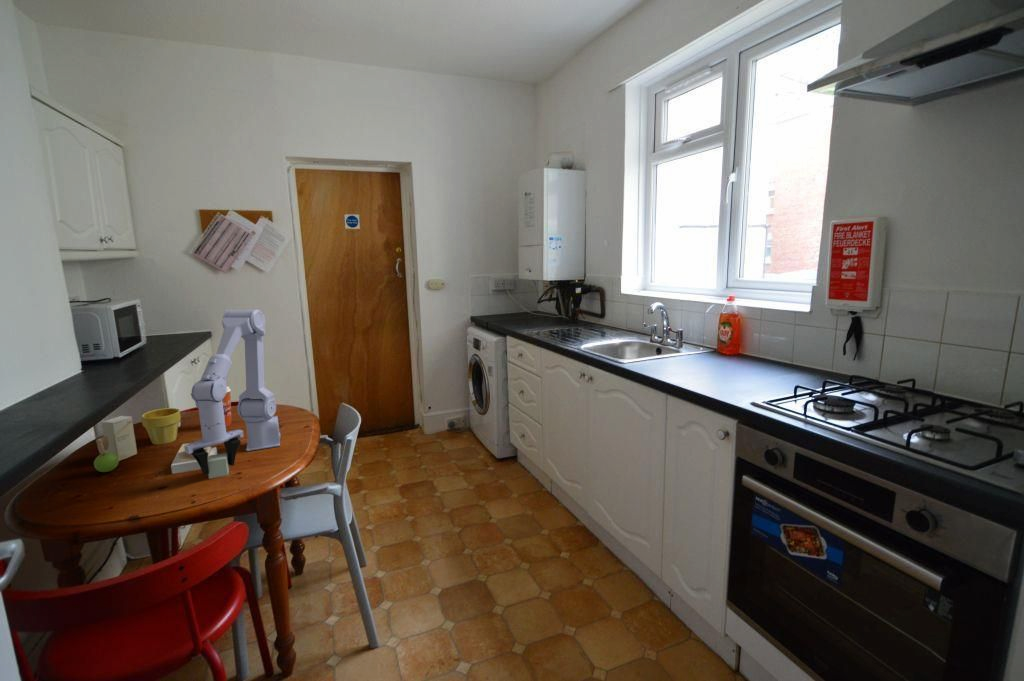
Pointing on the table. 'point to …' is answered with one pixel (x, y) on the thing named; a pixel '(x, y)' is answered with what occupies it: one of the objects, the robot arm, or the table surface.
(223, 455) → the sage block
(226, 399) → the paper cup
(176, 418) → the plant pot
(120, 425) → the skincare box
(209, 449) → the beech top block
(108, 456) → the snail figurine
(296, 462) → the table surface
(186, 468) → the grey base block
